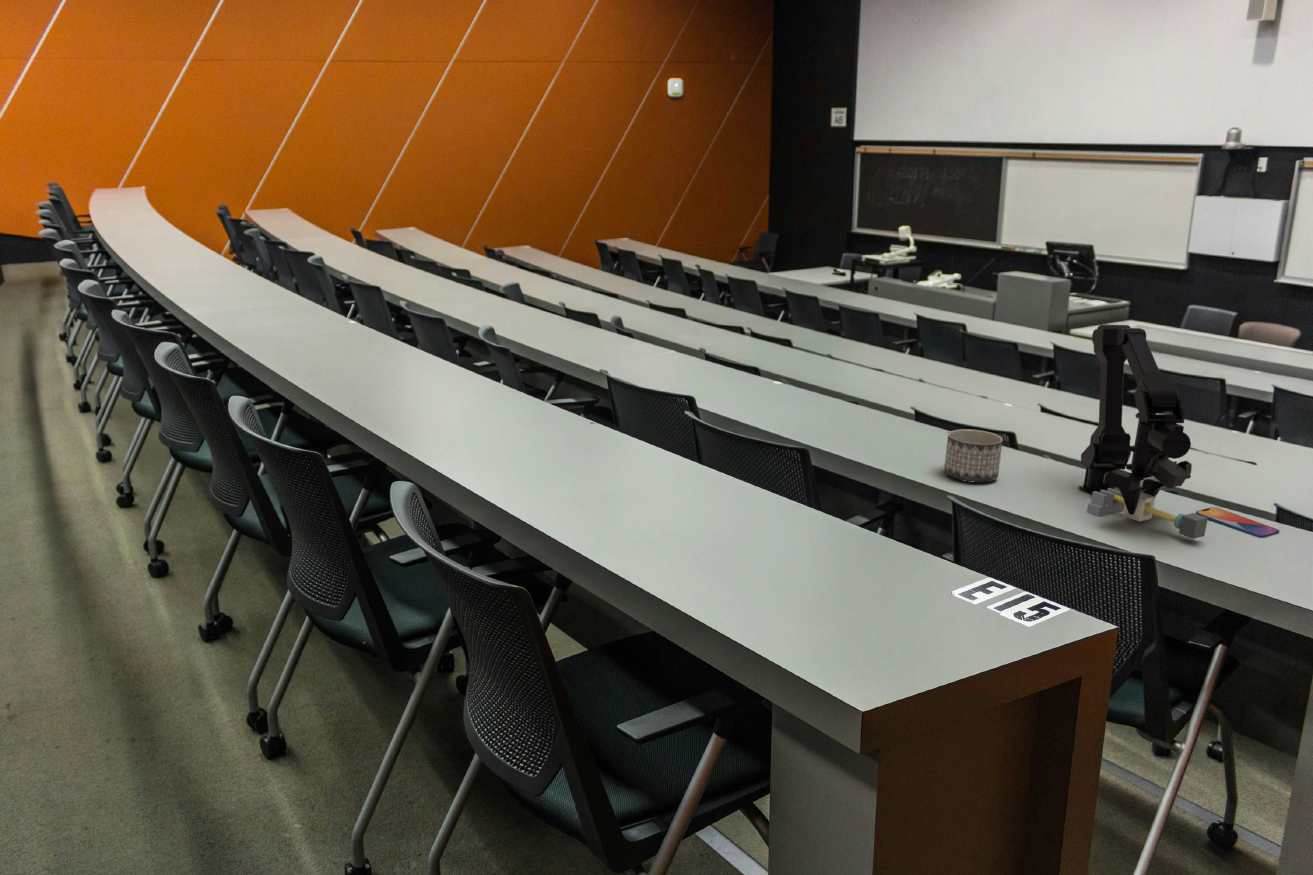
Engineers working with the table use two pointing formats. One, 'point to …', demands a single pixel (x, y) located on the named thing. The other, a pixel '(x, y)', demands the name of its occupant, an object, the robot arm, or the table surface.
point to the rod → (1149, 510)
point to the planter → (973, 455)
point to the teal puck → (1178, 521)
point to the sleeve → (1141, 508)
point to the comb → (1105, 502)
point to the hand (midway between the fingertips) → (1137, 512)
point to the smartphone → (1237, 522)
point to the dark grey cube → (1193, 525)
